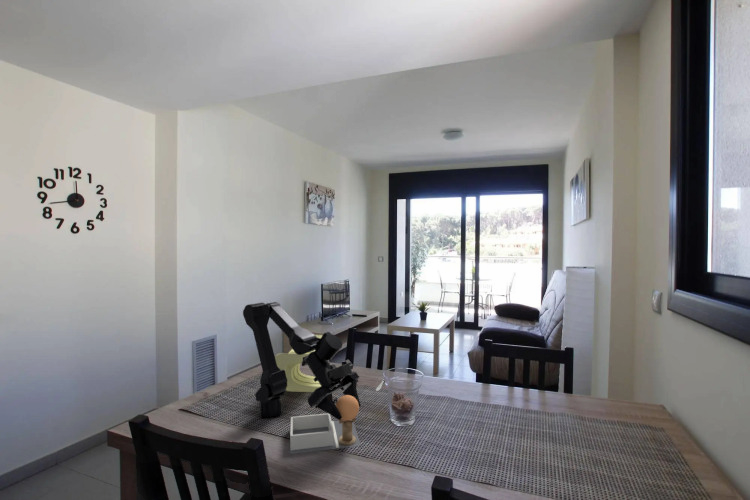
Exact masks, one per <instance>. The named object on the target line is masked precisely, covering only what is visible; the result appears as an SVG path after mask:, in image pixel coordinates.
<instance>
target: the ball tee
mask: <svg viewBox="0 0 750 500" xmlns="http://www.w3.org/2000/svg"><path fill="white" fill-rule="evenodd" d="M338 421H339V424H341V423H342V436H341V437H340V438H339V443H340V444H342V445H352V444H354V443H355V442H356V437H355V436H353V435H352V422H353V423H356V417H355V418H354V419H352V421H351V420H350V421H343V420H342V419H340V420H339V419H338Z"/></svg>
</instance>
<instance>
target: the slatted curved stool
mask: <svg viewBox="0 0 750 500" xmlns="http://www.w3.org/2000/svg"><path fill="white" fill-rule="evenodd" d="M314 335H315V336H316V337H318V338H320V339H321V337H322V336H323V334H314ZM314 351H315V350H314ZM311 352H313V351H311ZM311 352H308V353H306V354H303V355H298V354H296V353H295V352H294V350H293V349H292V348H291V349H290V350H289V351H288V352H287V353H286V352H285V353H284V352H282V353H281V352H279V353H277V354H276V355H275V359H276V363H277V367H278V368H279V369H280V370H285V373H286V378H287V380H288V381H287V387H286V390H285V391H286V392H292V393H293V392H299V393H313V392H314V391H315V389H317V388H319V387H321V385H320V383H319V382H318V381H316V382H315V381H314V378H315V375H314V376H312V375H308V374H305V373H303V372H302V371H301V369H300V366H301V364H302V361H303V357H305V356H308V355H309V354H310V353H311Z"/></svg>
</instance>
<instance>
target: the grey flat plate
mask: <svg viewBox="0 0 750 500" xmlns="http://www.w3.org/2000/svg"><path fill="white" fill-rule="evenodd" d="M331 421H332V426H333V431H334V445H333V446H324V447H315V448H306V449H297V450H290V449H289V455H294V454H295V455H296V454H303V453H312V452H319V451H320V452H321V451H327V450H329V451H330V450H339V449H346V448H347V449H348V448H353V447H354V448H356V447H362V445H361V441H360V438H359V436H358V432H357V429H356V425H355V422H352V435H353V436H355V437H356V442H355V443H354V444H352V445H342V444H340V443H339V438H340V437H341V436H342V423H341V424H339V420H331ZM343 421H344V420H343ZM351 421H352V420H351ZM325 431H329V428H328V427H321V428H311V429H301V430H293V435H296V434H306V433H315V432H325Z"/></svg>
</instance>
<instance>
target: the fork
mask: <svg viewBox="0 0 750 500" xmlns="http://www.w3.org/2000/svg"><path fill="white" fill-rule="evenodd" d="M384 382H385V381H383V380H382V381H381V383H379V385H378V386H377V387H376V389H375V391H376V392H378V391H380V390H381V388H382V386H383V385H384Z"/></svg>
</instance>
